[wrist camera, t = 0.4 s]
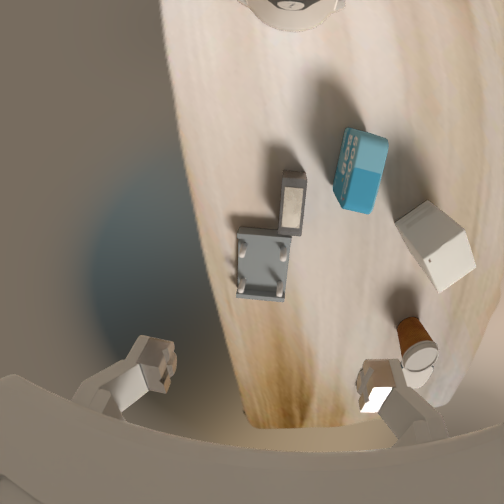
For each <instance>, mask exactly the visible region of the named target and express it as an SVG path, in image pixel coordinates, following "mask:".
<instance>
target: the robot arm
mask: <svg viewBox="0 0 504 504" xmlns="http://www.w3.org/2000/svg"><path fill="white" fill-rule="evenodd" d="M238 2H239V3H241V4H243V5H245V6H247V7H249V8H250V9H251V10H252V11H253V12H254V14H255V15H256V16H257V17H258V18H259V19H260V20H261V21H262V22H264V23H265V24H267V25H269V26H270V27H273V28H275V29H278V30H282V31H289V32H300V31H306V30H310V29H312V28H315V27H317V26H319V25H320V24H322V23H323V22H324V21H325V20H326V19H327V18H328V17H329V16H330V15H331V14H332V13H335V12H338V11H340V10H342V9H344V7H345V0H238ZM174 348H175V347H174V343H173V342H172V341H167V340H162V339H158V338H153V337H148V336H143V335H140V336H139V337H138V339H137V340H136V342H135V344H134V345H133V347H132V349H131V351H130V353H129V354H128V356H127V358H126V359H125V360H121V361H119V362H117V363H115V364H114V365H112V366H110V367H108V368H106V369H104V370H103V371H101V372H99V373H97V374H95V375H93V376H92V377H90V378H88V379H86V380H84V381H83V382H82V383H81V385H80V386H79V388H78V390H77V391H76V393H75V395H74V396H73V398H72V400H71V401H69V400H67V399H65V398H62V397H60V396H58V395H56V394H54V393H52V392H49V391H47V390H45V389H43V388H41V387H39V386H37V385H35V384H33V383H32V382H30V381H28V380H26V379H24V378H22V377H21V376H19V375H15V374H12V375H8V376H5V377H3V378H0V504H504V423H501V424H497V425H494V426H491V427H488V428H485V429H481V430H478V431H474V432H471V433H467V434H464V435H460V436H455V437H451V438H449V436H448V432H447V429H446V425H445V422H444V418H443V416H442V415H441V414H440V413H439V412H438V411H437V410H435V409H434V408H433V407H432V406H431V405H430V404H429V403H428V402H427V401H426V400H424V399H423V398H422V397H421V396H420V395H419V394H418V393H417V392H416V391H414V390H413V389H412V388H411V387H407V384H406V380H405V377H404V374H403V371H402V368H401V364H400V361H399V360H398V359H366V360H365V361H364V363H363V370H362V371H360V372H359V374H358V377H357V392H358V393H359V394H360V395H361V396H360V398H359V400H358V401H359V407H360V412H378V414H379V415H380V416H381V418H382V419H383V420H384V421H385V423H386V424H387V425H388V427H389V428H390V429H391V430H392V432H393V433H394V434H395V435H396V437H397V438H398V439H399V440H398V441H397V442H396V443H395V444H394V445H393V446H392V448H387V449H376V450H365V451H347V452H295V451H294V452H293V451H277V450H264V449H254V448H245V447H236V446H229V445H222V444H216V443H211V442H205V441H199V440H194V439H189V438H185V437H180V436H176V435H171V434H167V433H163V432H160V431H155V430H152V429H148V428H145V427H141V426H138V425H135V424H131V423H128V422H126V420H125V418H124V417H123V415H122V413H121V412H122V411H123V410H125V409H126V408H127V407H129V406H130V405H131V404H132V403H134V402H135V401H136V400H137V399H139V398H140V397H141V396H143V395H144V394H145V393H146V392H148V390H151V391H156V392H161V393H167V391H168V388H169V386H170V383H171V381H170V377H171V376H172V375H173V374H174V373H175V370H176V365H177V357H176V354H175V353H174V352H173V351H174Z"/></svg>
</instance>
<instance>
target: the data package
mask: <svg viewBox="0 0 504 504" xmlns="http://www.w3.org/2000/svg"><path fill="white" fill-rule="evenodd" d="M388 147H389V144H388V140H387V139H386V138H383V137H380V136H377V135H374V134H371V133H368V132H364V131H361V130H357V129H353V128H349V127H347V128H346V129H345V132H344V136H343V141H342V146H341V151H340V155H339V160H338V165H337V169H336V174H335V178H334V183H333V192H334V194H335V196H336V198H337V200H338V202H339V203H340V205H341V207H342V208H343V209H346V210H351V211H355V212H360V213H364V214H370V213H371V212H372V210H373V207H374V203H375V200H376V196H377V193H378V189H379V185H380V181H381V177H382V173H383V169H384V165H385V161H386V157H387V153H388Z"/></svg>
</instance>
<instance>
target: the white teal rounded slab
mask: <svg viewBox="0 0 504 504" xmlns="http://www.w3.org/2000/svg"><path fill="white" fill-rule="evenodd" d="M401 368H402V371H403V374H404V377H405V380H406V384H407V387H411V388H412V389H417V388H420V387H422V386H423V385H425V383H426V382H427V381H428V379H429V377H430V375H431V374H432V372H433V369H434V368H433V365H432V366H431V367H430V368H429V369H427V370H425V371H423V372H420V373H409V372H407V371H406V369H404V368H403V367H402V364H401Z"/></svg>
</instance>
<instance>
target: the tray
mask: <svg viewBox="0 0 504 504" xmlns="http://www.w3.org/2000/svg"><path fill="white" fill-rule="evenodd" d="M237 238H238V239H239V242H238V289H237V293H236V298H245V299H255V300H265V301H276V302H284V299H285V287H286V279H287V270H288V261H289V252H290V243H291V238H292V236H291V235H281V234H278V230H273V229H261V228H248V227H239V230H238V232H237Z"/></svg>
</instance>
